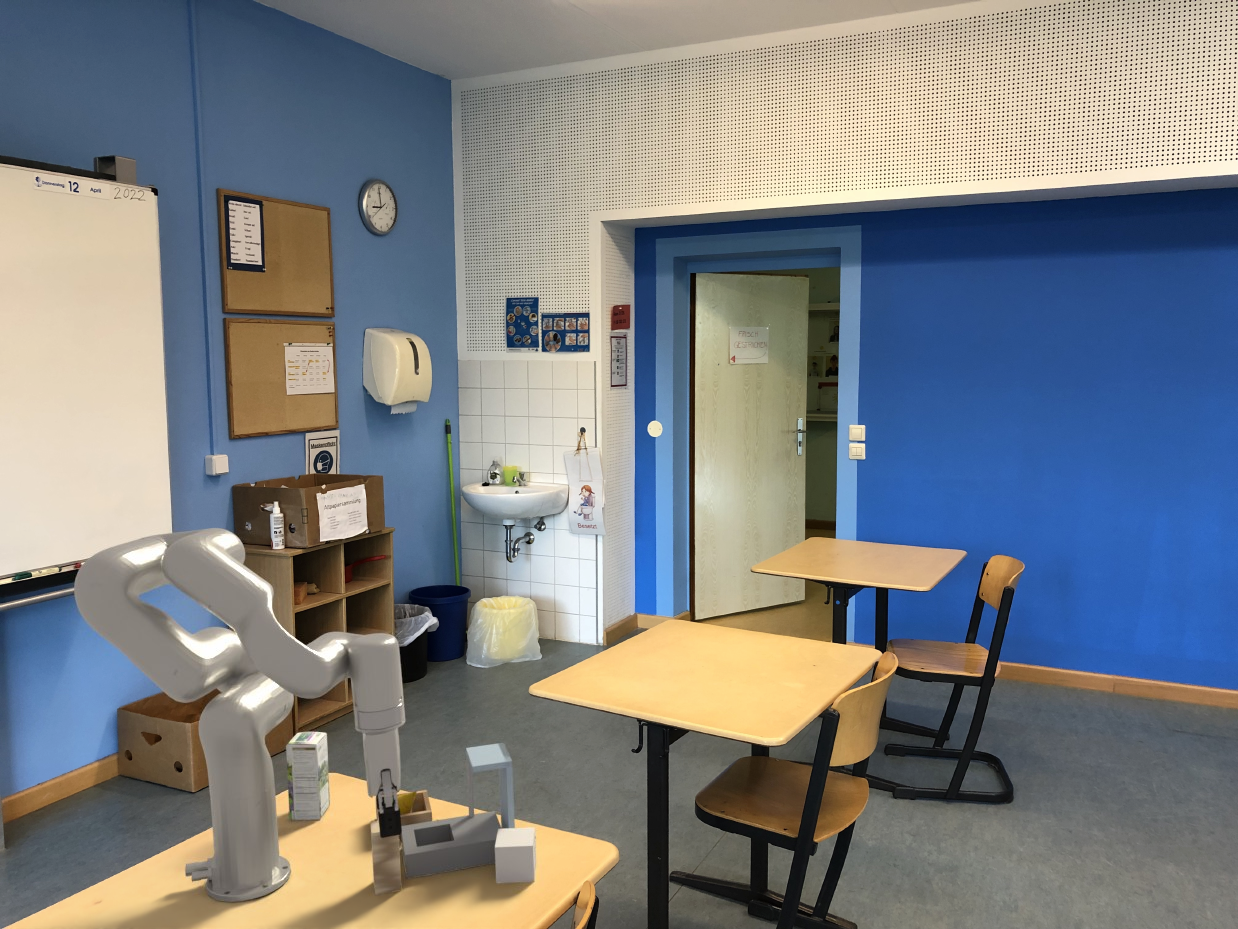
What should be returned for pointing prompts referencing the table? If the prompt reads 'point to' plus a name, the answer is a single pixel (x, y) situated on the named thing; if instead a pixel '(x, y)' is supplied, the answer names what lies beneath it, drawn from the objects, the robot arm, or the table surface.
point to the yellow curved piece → (406, 802)
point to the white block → (515, 855)
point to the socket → (449, 844)
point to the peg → (385, 861)
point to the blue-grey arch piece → (499, 759)
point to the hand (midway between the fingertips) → (389, 821)
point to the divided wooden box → (416, 810)
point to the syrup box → (308, 776)
